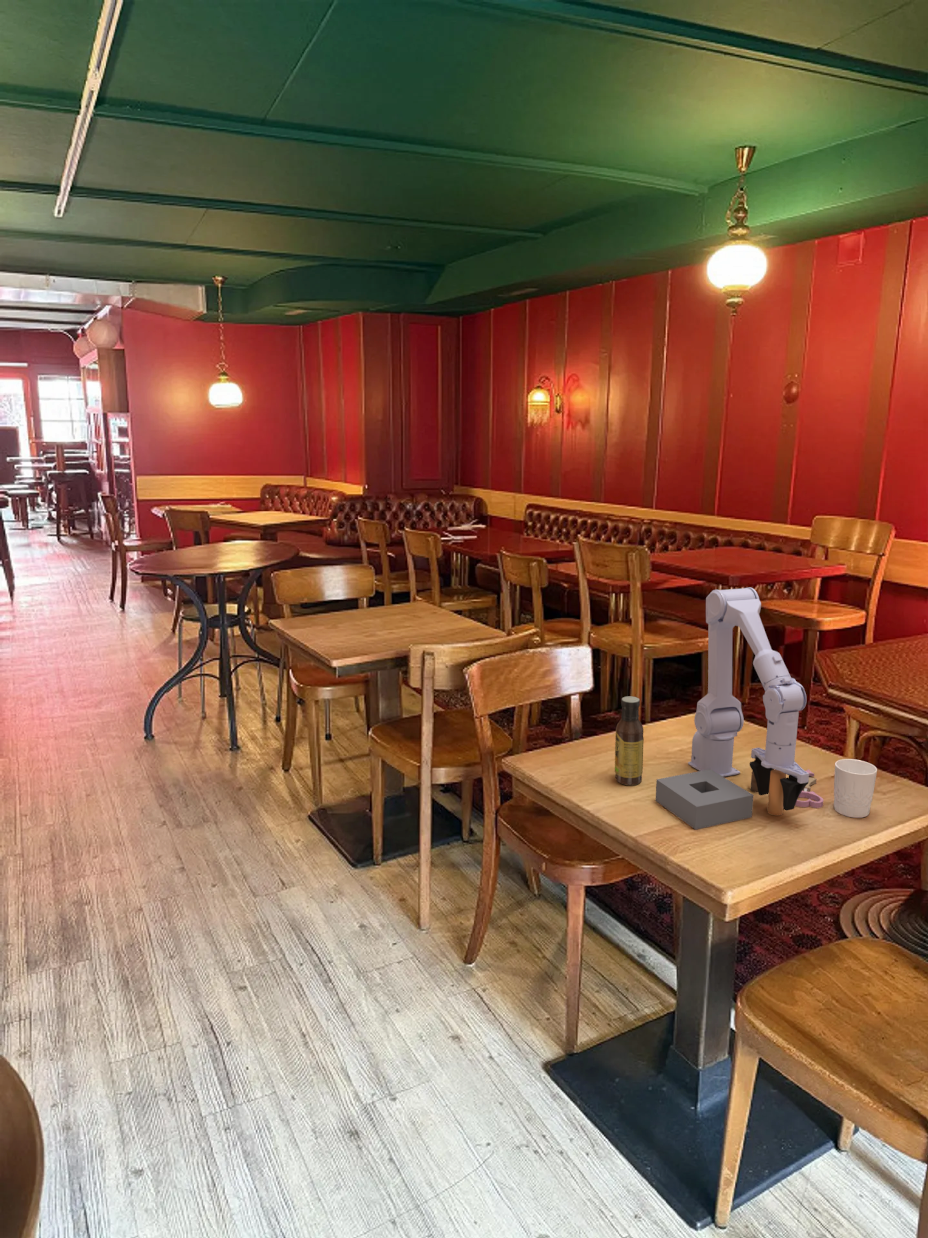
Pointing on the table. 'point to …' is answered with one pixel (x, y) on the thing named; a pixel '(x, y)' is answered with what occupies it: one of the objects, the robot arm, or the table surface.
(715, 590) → the robot arm
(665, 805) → the bored block
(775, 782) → the long peg
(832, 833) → the table surface
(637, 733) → the sauce bottle
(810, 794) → the decorative key
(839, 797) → the white cup
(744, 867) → the table surface
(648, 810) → the table surface
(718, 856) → the table surface
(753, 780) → the short peg
